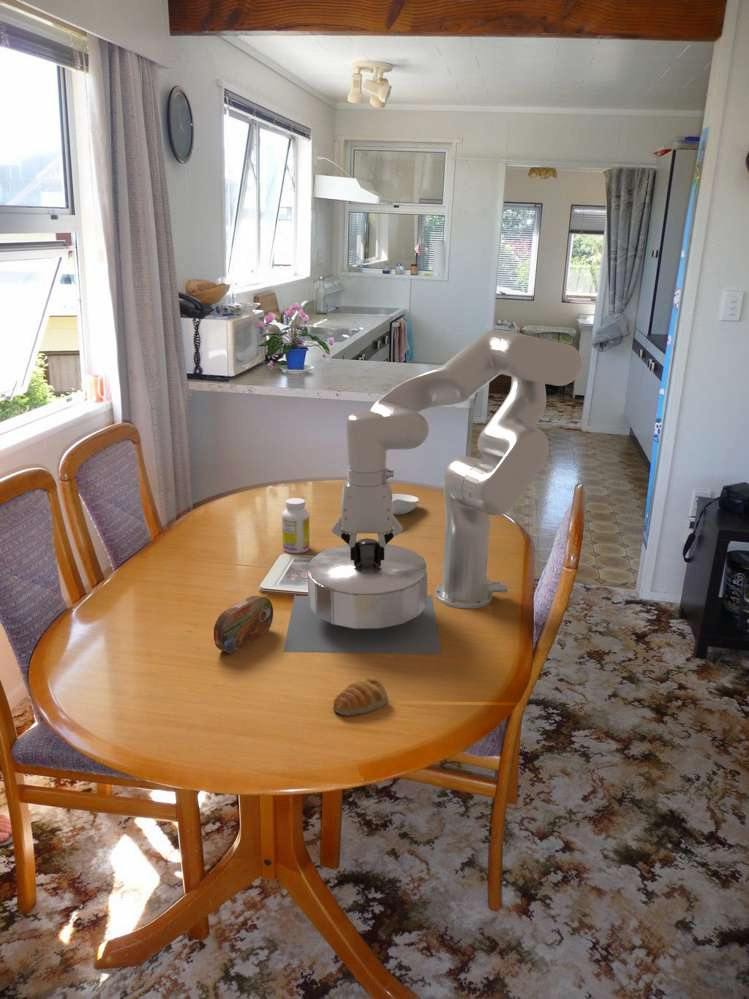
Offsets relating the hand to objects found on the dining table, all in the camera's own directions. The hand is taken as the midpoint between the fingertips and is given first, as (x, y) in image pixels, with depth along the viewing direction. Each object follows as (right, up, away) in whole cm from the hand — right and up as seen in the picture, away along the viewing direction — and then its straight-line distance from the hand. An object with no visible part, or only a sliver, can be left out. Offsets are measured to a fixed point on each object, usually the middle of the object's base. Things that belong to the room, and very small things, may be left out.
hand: (367, 562), depth 163 cm
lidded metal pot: (0, -8, +3) cm, 8 cm away
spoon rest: (+7, +7, +65) cm, 66 cm away
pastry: (-1, -23, -24) cm, 33 cm away
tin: (-24, -15, -5) cm, 29 cm away
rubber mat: (-1, -13, +4) cm, 13 cm away
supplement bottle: (-18, 0, +41) cm, 45 cm away
